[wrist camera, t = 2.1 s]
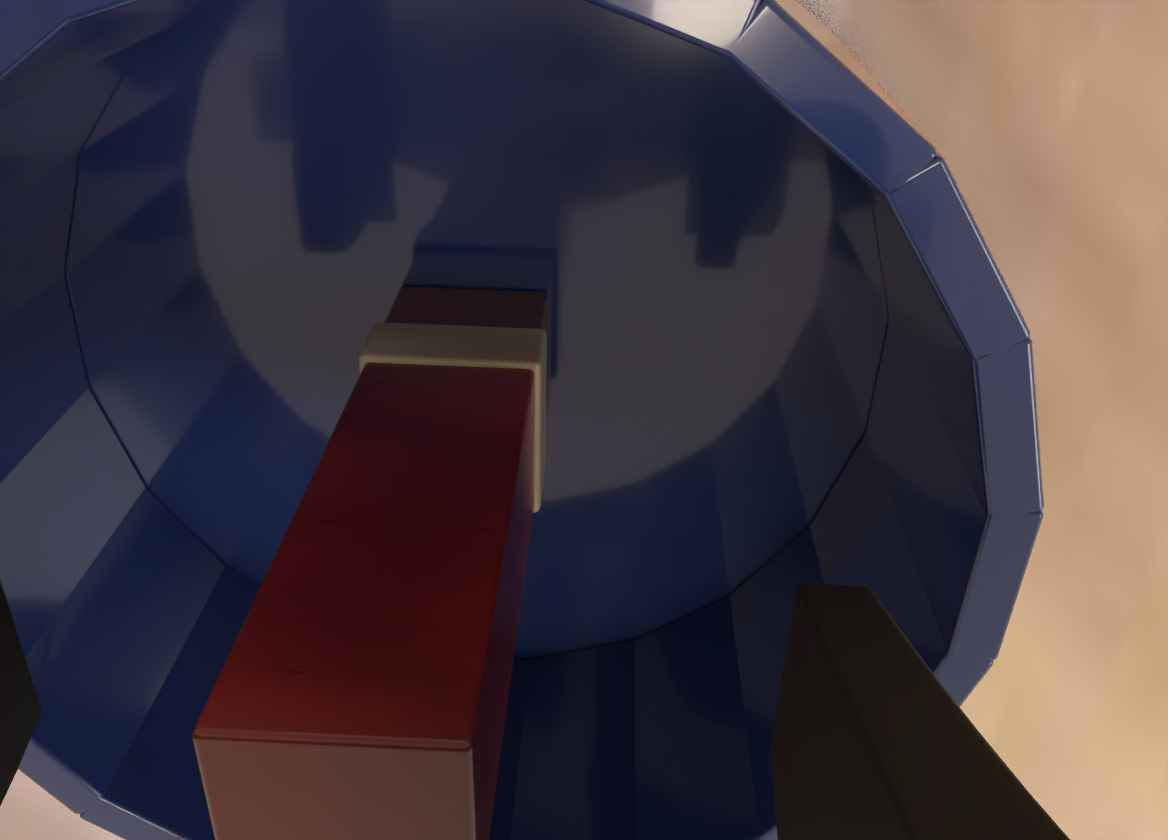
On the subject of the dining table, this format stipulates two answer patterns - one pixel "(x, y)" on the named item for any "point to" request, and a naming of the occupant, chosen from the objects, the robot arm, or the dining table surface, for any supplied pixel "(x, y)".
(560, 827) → the blue round bowl
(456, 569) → the dark red rectangular block
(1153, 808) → the dining table surface
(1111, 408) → the dining table surface
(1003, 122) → the dining table surface
